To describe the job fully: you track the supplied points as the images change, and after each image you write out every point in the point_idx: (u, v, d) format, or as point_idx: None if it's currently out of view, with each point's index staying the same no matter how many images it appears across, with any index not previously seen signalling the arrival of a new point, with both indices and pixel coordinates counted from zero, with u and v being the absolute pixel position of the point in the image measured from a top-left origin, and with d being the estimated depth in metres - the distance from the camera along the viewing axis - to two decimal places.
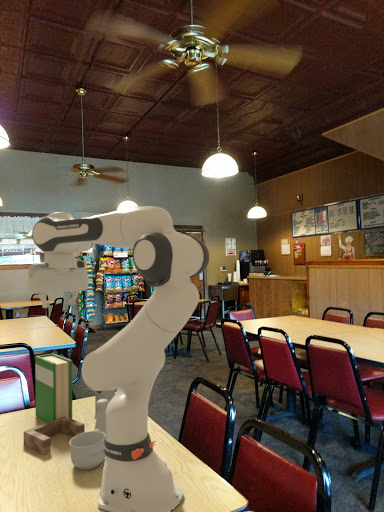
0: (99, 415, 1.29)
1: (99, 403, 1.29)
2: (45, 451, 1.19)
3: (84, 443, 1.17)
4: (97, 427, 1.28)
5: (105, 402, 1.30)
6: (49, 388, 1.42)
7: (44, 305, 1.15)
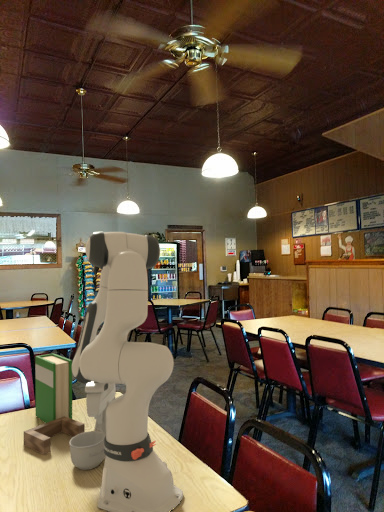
0: None
1: None
2: (45, 451, 1.19)
3: (84, 443, 1.17)
4: (97, 427, 1.28)
5: None
6: (49, 388, 1.42)
7: None
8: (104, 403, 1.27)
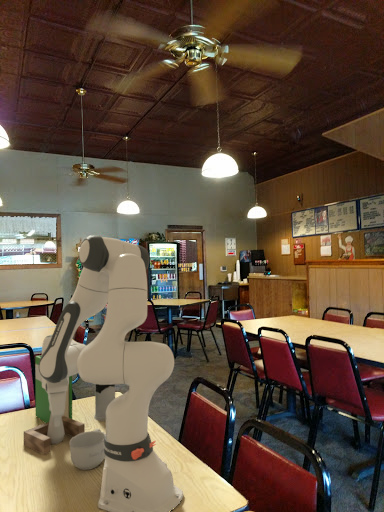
0: None
1: None
2: (45, 451, 1.19)
3: (84, 443, 1.17)
4: (52, 431, 1.26)
5: None
6: None
7: None
8: None
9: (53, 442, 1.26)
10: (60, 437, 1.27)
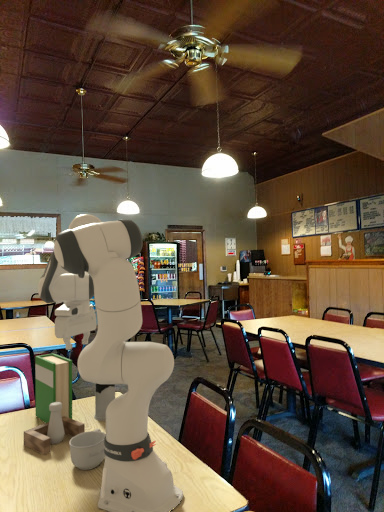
0: (54, 418, 1.27)
1: (54, 407, 1.27)
2: (45, 451, 1.19)
3: (84, 443, 1.17)
4: (52, 431, 1.26)
5: (60, 404, 1.28)
6: (49, 388, 1.42)
7: None
8: (75, 329, 1.31)
9: (53, 442, 1.26)
10: (60, 437, 1.27)
